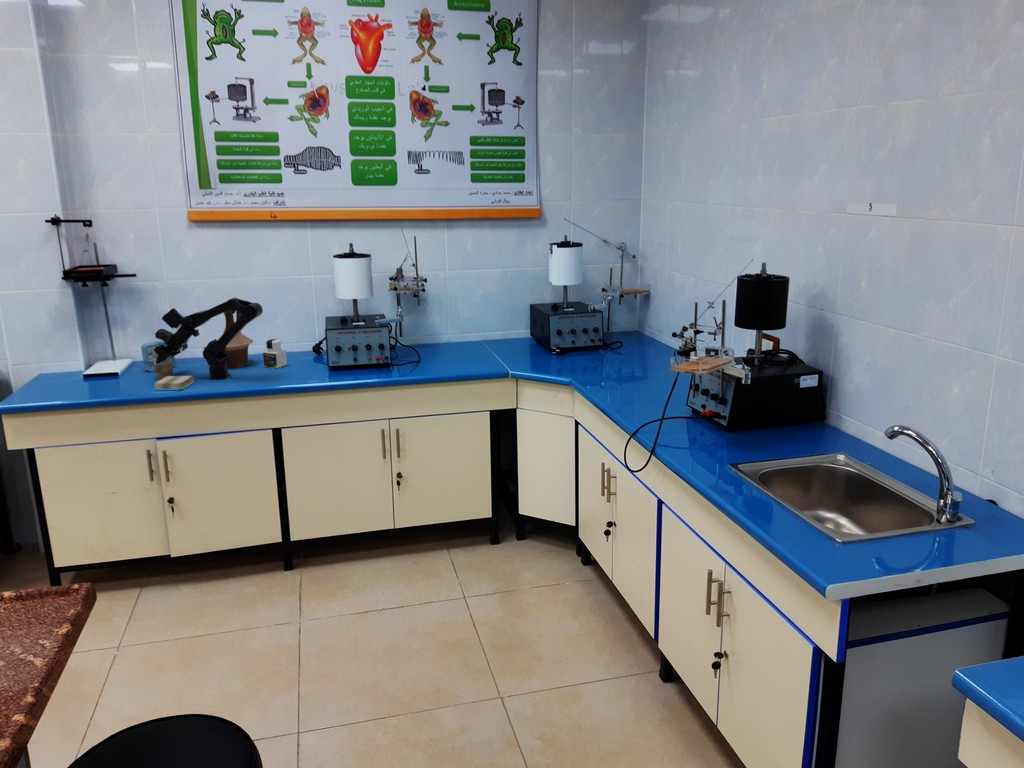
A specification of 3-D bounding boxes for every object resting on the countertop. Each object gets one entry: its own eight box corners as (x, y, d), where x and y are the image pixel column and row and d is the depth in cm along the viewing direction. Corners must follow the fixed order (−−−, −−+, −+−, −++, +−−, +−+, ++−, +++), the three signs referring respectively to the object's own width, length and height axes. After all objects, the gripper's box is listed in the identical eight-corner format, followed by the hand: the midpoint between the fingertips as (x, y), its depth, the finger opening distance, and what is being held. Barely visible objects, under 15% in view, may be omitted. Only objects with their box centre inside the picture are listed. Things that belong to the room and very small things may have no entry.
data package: (148, 372, 332) (144, 345, 329) (144, 370, 335) (140, 344, 332) (176, 367, 340) (172, 341, 337) (172, 365, 344) (168, 339, 340)
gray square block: (173, 375, 328) (169, 348, 324) (167, 378, 323) (163, 350, 319) (162, 375, 328) (158, 348, 324) (156, 378, 323) (152, 350, 320)
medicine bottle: (263, 367, 339) (261, 341, 335) (274, 363, 345) (271, 337, 342) (277, 369, 336) (274, 342, 333) (287, 365, 343) (285, 338, 339)
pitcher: (228, 359, 354) (221, 299, 346) (262, 360, 351) (256, 300, 343) (207, 369, 337) (200, 306, 329) (244, 370, 334) (237, 307, 327)
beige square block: (194, 382, 316) (193, 375, 315) (182, 390, 305) (181, 383, 304) (167, 383, 316) (166, 375, 315) (155, 390, 305) (154, 383, 305)
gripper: (177, 318, 327) (155, 343, 331) (155, 327, 310) (132, 353, 313) (197, 336, 329) (175, 361, 333) (176, 346, 311) (154, 372, 315)
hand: (159, 361), depth 323 cm, fingers closed on gray square block, 5 cm apart
